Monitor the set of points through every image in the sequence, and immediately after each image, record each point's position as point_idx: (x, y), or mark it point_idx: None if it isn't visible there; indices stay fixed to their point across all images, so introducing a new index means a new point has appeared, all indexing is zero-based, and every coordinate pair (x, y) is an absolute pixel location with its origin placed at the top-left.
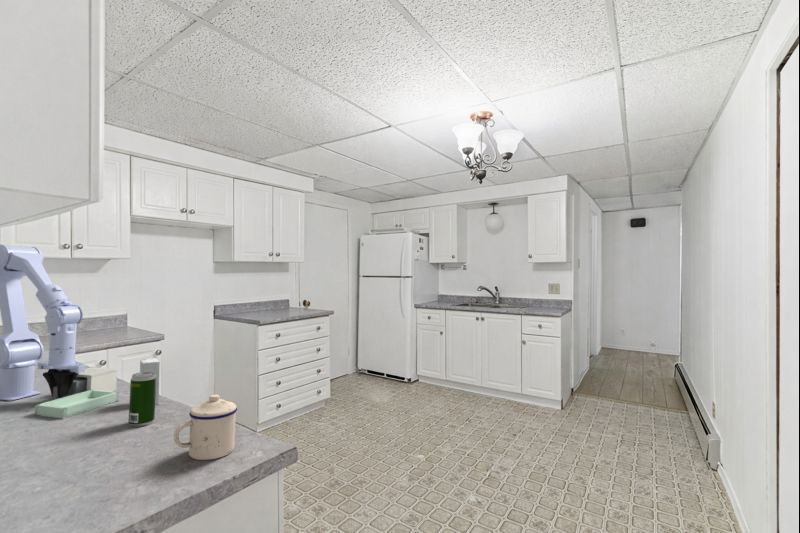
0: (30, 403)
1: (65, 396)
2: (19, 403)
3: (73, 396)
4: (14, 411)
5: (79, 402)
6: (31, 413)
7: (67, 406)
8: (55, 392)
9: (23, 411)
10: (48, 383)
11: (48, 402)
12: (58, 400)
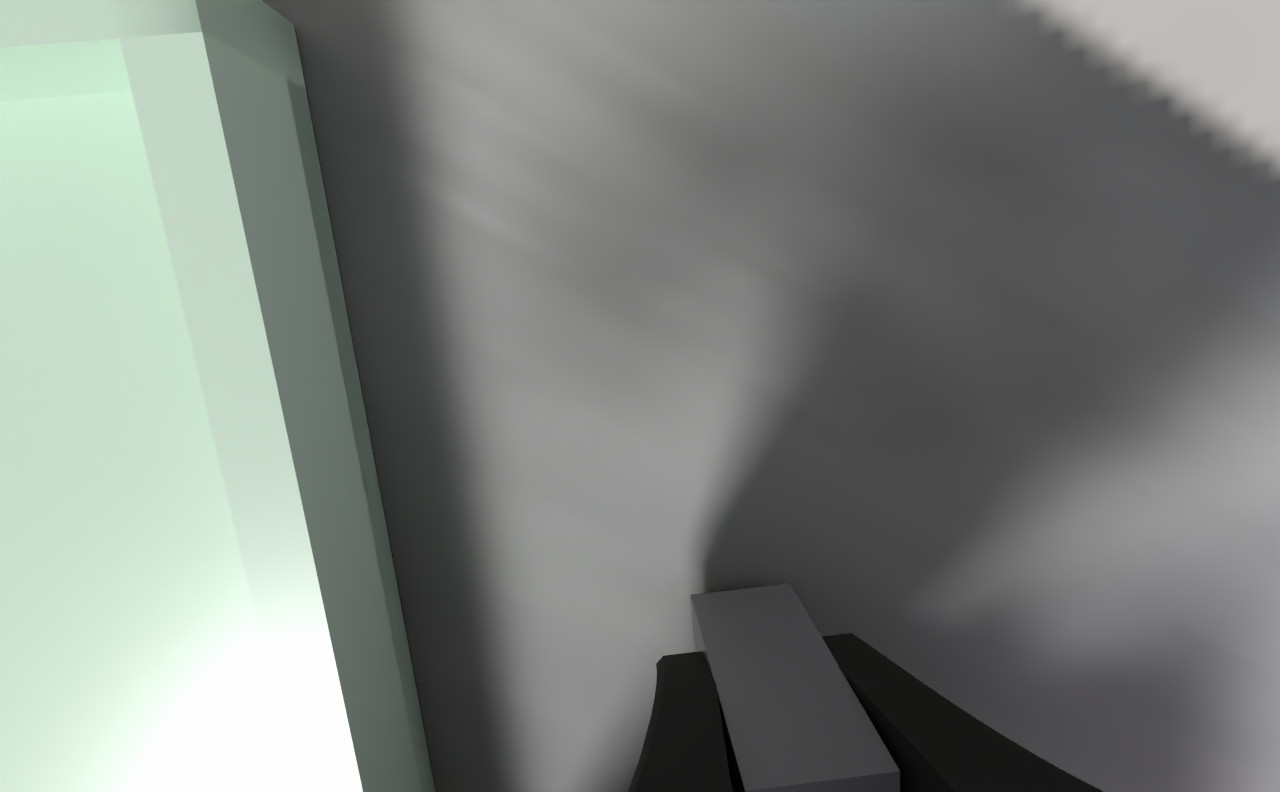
0: (1064, 409)
1: None
2: (1229, 340)
3: (297, 731)
4: (860, 26)
5: (245, 697)
6: (461, 68)
7: (163, 484)
8: (775, 688)
9: (715, 88)
10: (1078, 790)
11: (168, 219)
12: (230, 440)
